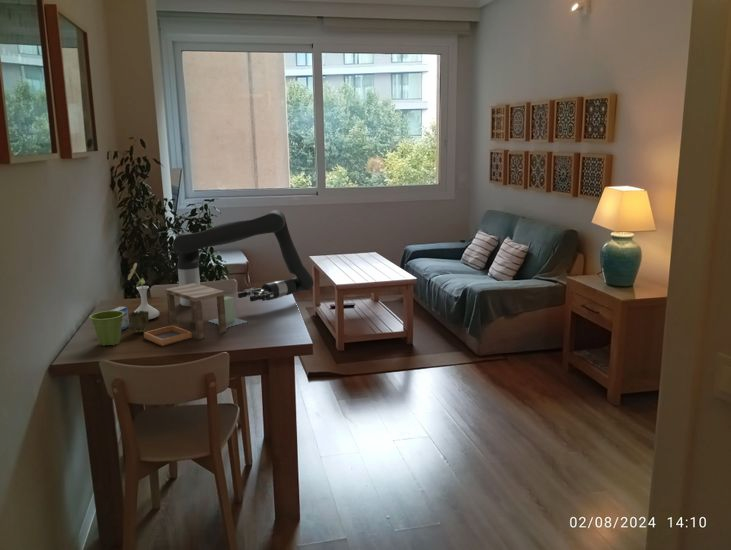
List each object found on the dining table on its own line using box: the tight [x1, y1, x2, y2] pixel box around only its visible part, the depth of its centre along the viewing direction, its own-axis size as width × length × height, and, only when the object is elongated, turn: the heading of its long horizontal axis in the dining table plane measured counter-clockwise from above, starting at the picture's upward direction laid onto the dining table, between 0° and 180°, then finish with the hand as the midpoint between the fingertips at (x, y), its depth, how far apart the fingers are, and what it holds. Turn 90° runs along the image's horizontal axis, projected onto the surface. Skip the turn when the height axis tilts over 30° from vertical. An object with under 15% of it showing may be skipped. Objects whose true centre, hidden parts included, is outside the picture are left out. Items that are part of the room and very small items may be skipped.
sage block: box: [224, 295, 236, 323], centre depth 247 cm, size 4×4×10 cm
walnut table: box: [164, 283, 227, 340], centre depth 237 cm, size 22×13×16 cm, turn 47°
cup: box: [128, 311, 149, 334], centre depth 237 cm, size 8×7×8 cm
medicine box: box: [109, 306, 130, 331], centre depth 241 cm, size 8×4×9 cm, turn 168°
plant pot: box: [89, 310, 124, 346], centre depth 224 cm, size 12×12×11 cm
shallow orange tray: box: [143, 325, 193, 347], centre depth 229 cm, size 14×12×2 cm
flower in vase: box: [126, 262, 160, 321], centre depth 253 cm, size 13×11×25 cm
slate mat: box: [207, 317, 248, 329], centre depth 248 cm, size 14×10×1 cm
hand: (244, 297), depth 253 cm, fingers open, 8 cm apart
